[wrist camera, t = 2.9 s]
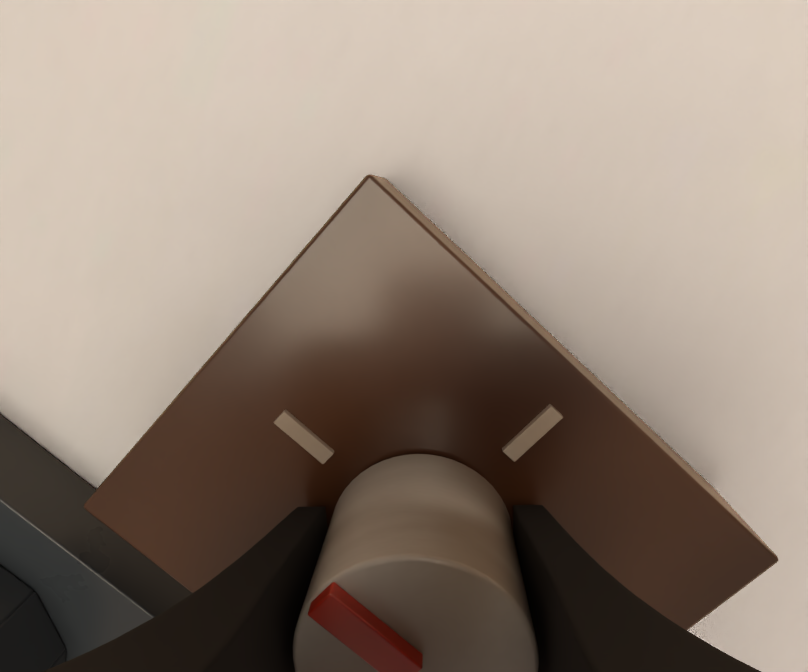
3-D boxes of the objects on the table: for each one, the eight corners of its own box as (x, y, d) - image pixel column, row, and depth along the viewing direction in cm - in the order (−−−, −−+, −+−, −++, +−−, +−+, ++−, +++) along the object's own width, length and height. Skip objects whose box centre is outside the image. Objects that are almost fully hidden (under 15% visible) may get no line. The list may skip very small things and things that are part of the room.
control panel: (716, 490, 15) (786, 565, 12) (456, 702, 17) (460, 810, 14) (383, 175, 14) (367, 171, 11) (145, 450, 16) (76, 511, 13)
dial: (550, 534, 12) (598, 683, 9) (425, 642, 13) (420, 819, 10) (415, 415, 12) (405, 519, 8) (295, 535, 13) (235, 679, 9)
